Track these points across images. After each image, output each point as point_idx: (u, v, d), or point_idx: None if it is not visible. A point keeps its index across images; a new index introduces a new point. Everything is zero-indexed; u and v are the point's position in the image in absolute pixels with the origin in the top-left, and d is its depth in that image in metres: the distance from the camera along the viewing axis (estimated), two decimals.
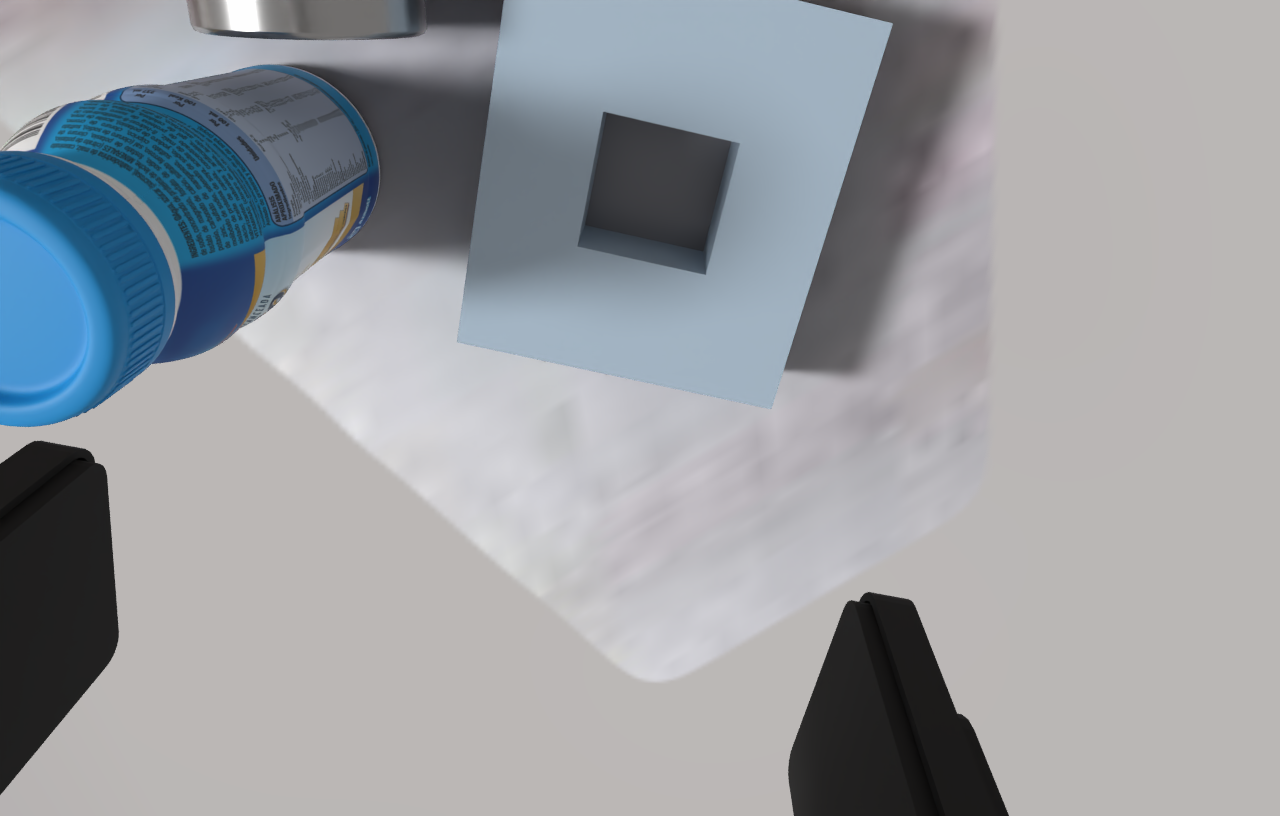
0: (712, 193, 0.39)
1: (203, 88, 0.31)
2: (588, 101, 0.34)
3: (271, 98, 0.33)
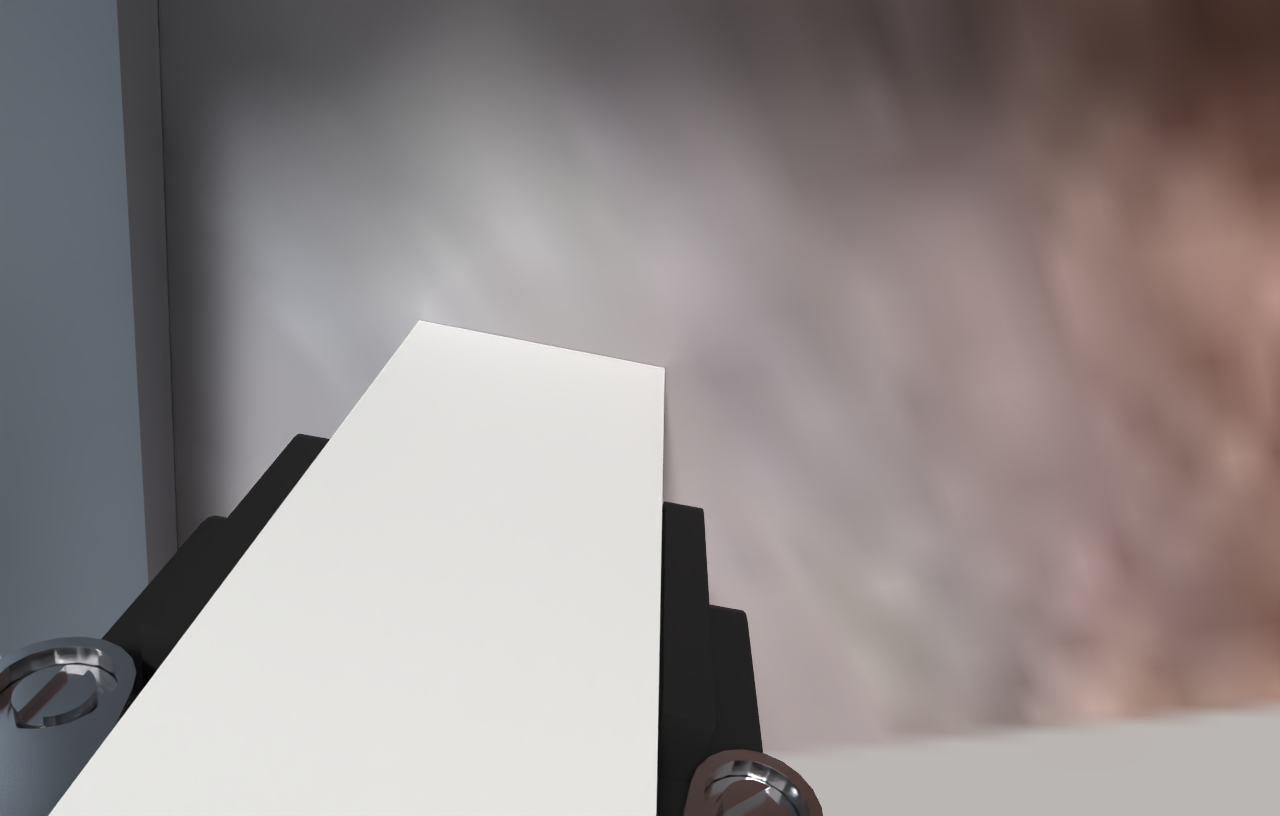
0: None
1: None
2: None
3: None
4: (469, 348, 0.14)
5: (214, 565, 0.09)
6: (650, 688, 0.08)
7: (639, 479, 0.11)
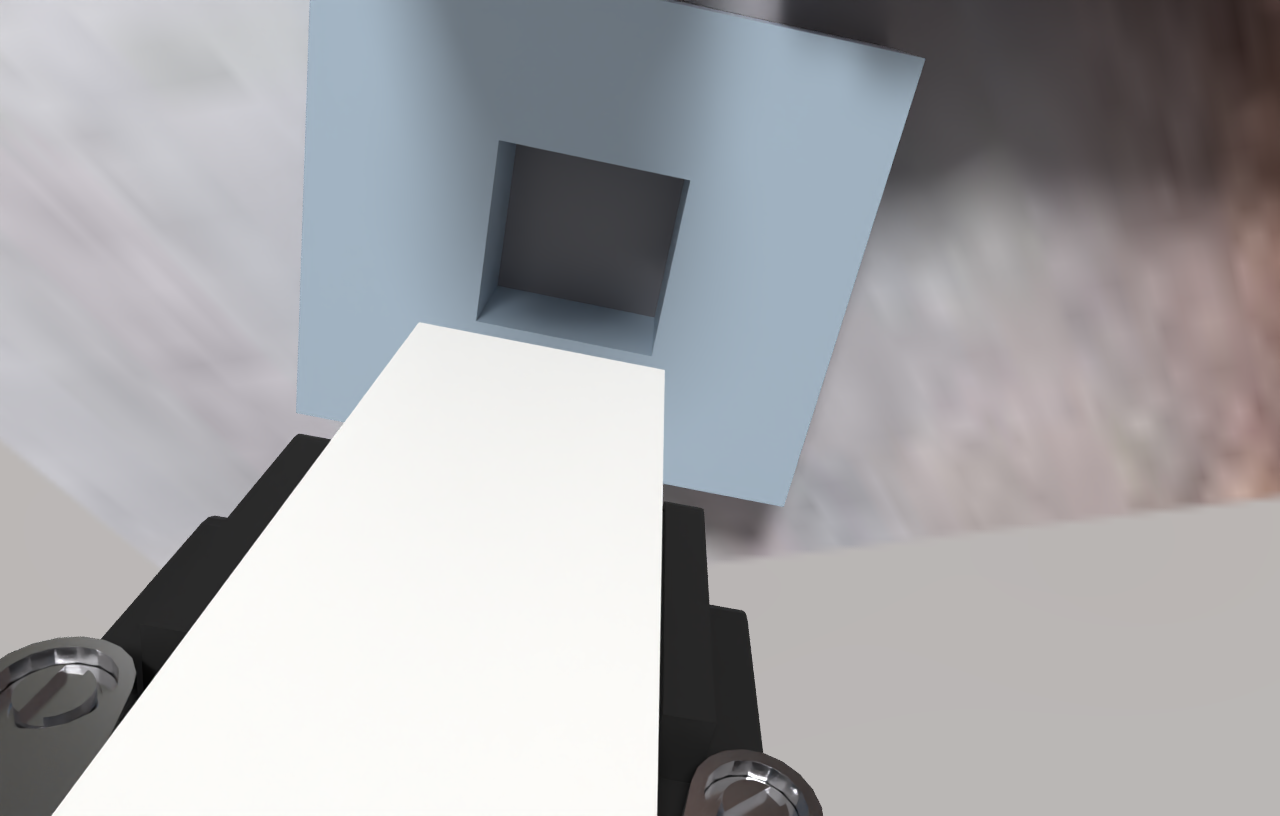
0: (574, 294, 0.30)
1: None
2: (703, 159, 0.25)
3: None
4: (469, 350, 0.14)
5: (214, 565, 0.09)
6: (650, 693, 0.08)
7: (640, 482, 0.11)
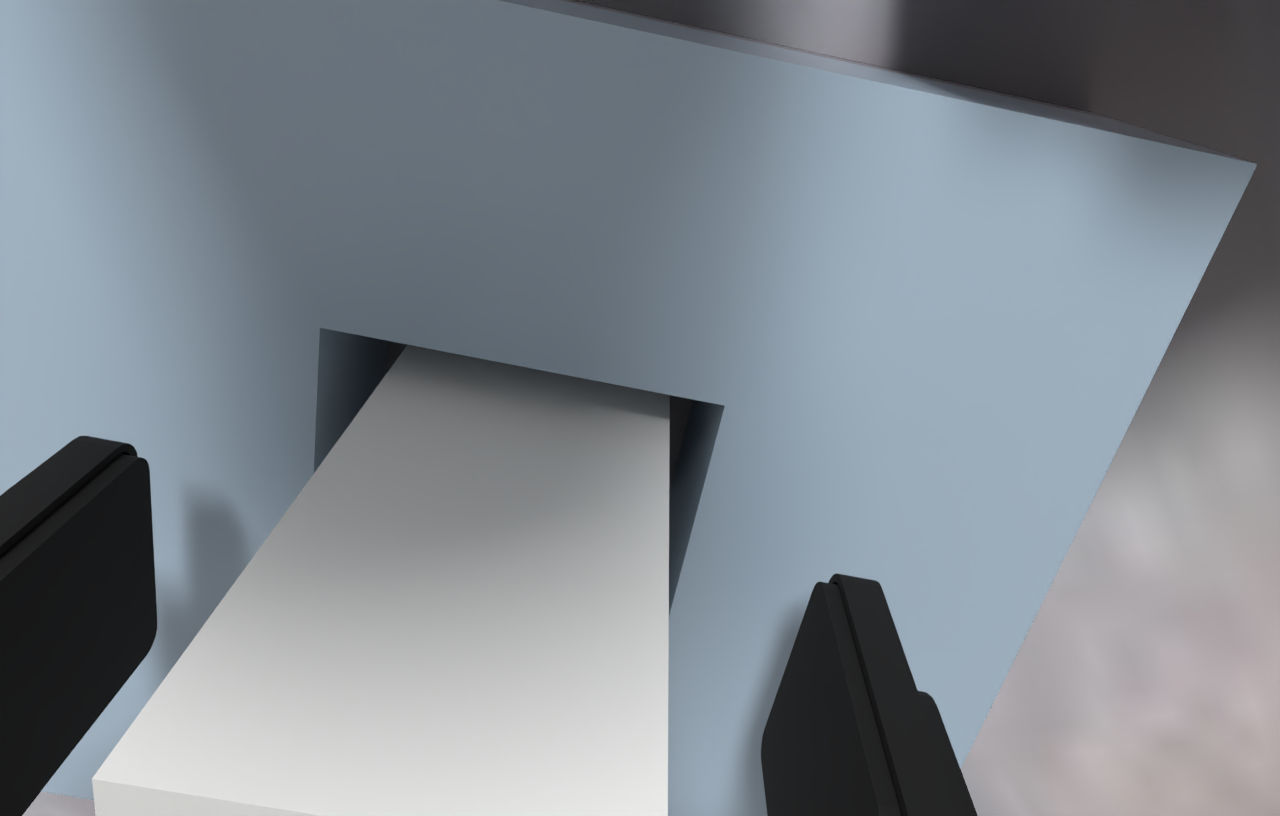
0: None
1: None
2: (753, 366, 0.12)
3: None
4: None
5: None
6: (661, 620, 0.09)
7: (647, 444, 0.12)
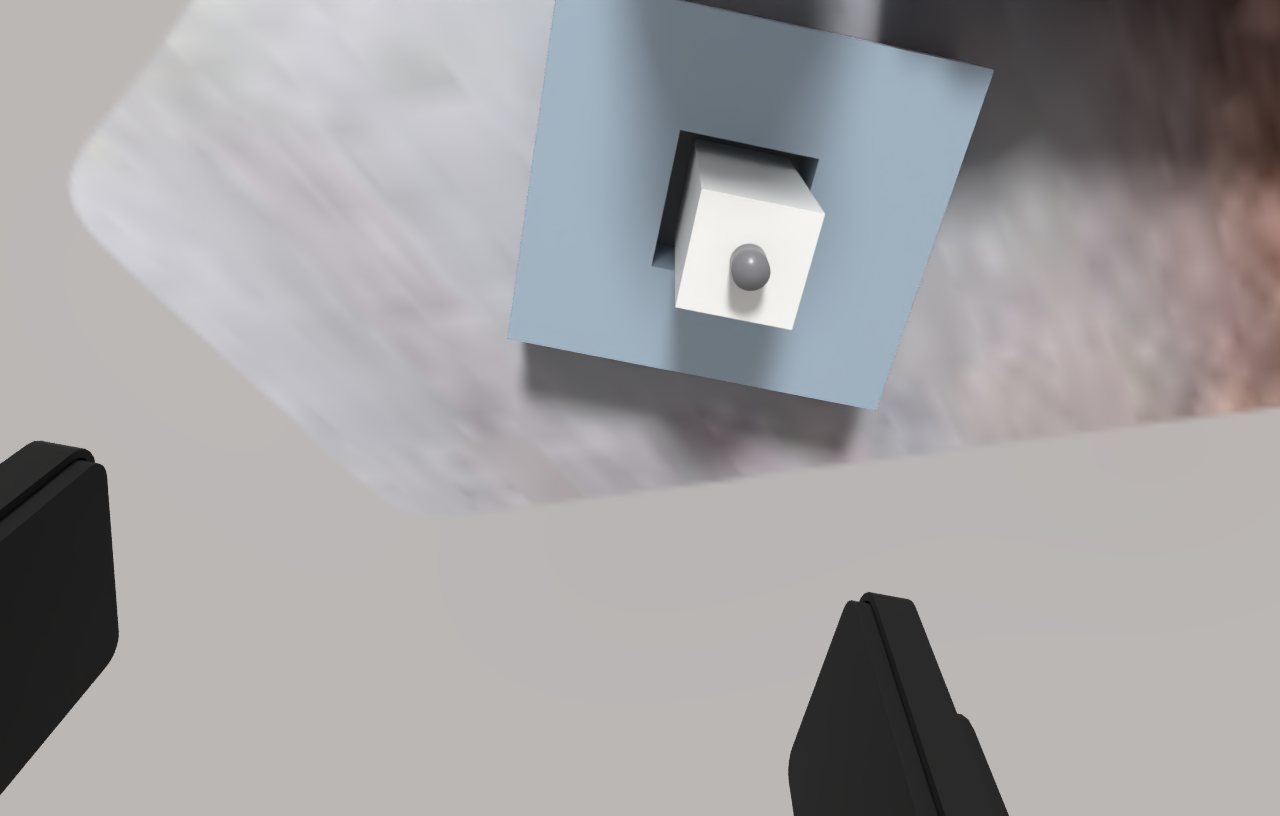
0: None
1: None
2: (829, 143, 0.34)
3: None
4: (717, 145, 0.36)
5: None
6: (810, 194, 0.31)
7: (791, 173, 0.34)
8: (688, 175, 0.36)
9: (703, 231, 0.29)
